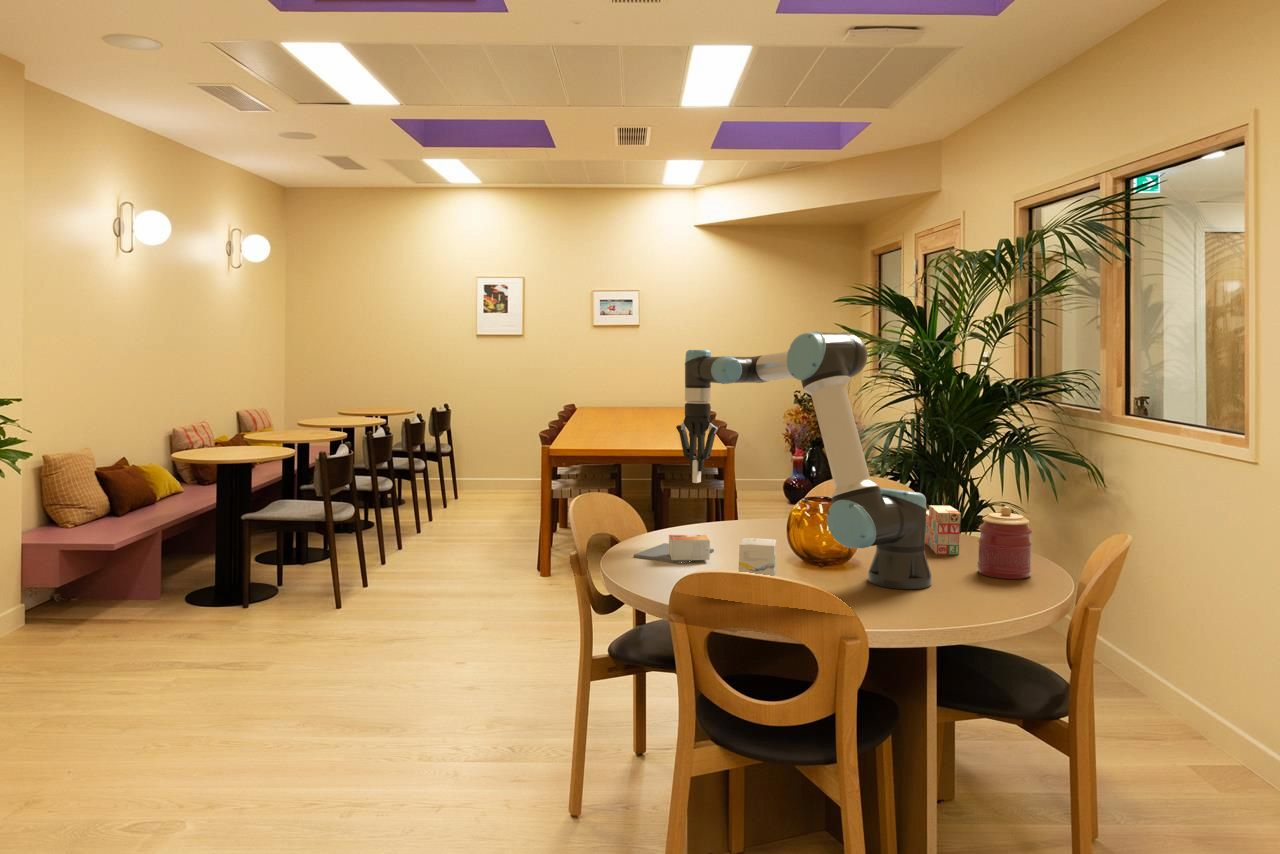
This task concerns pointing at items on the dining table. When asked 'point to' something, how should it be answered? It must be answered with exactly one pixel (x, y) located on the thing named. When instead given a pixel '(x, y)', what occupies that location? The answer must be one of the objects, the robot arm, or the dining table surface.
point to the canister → (1005, 545)
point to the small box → (689, 547)
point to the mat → (660, 554)
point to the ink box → (757, 556)
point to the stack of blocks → (943, 529)
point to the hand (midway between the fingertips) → (696, 482)
